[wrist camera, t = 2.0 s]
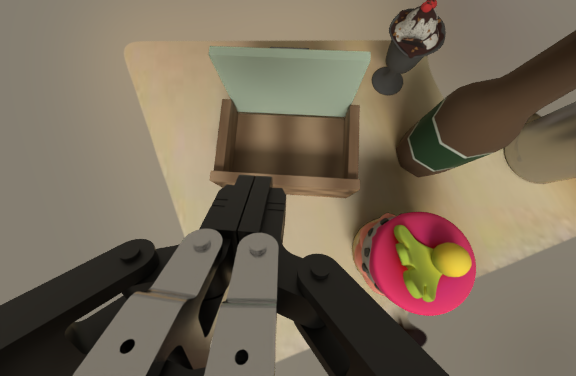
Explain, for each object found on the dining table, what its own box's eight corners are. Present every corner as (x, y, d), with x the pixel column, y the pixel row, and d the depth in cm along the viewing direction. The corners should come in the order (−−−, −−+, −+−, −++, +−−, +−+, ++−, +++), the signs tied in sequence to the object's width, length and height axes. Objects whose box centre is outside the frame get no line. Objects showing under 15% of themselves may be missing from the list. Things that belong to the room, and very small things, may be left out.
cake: (396, 202, 36) (465, 184, 21) (438, 266, 35) (545, 295, 20) (336, 238, 36) (364, 244, 21) (375, 305, 34) (436, 364, 19)
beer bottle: (397, 125, 38) (563, -42, 15) (448, 135, 38) (705, -24, 14) (390, 173, 37) (558, 75, 13) (443, 183, 36) (714, 100, 13)
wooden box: (348, 127, 38) (361, 101, 30) (346, 198, 37) (359, 189, 29) (235, 121, 39) (220, 95, 31) (227, 190, 37) (209, 180, 29)
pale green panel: (345, 106, 36) (370, 44, 24) (345, 118, 36) (370, 61, 24) (239, 101, 37) (210, 38, 25) (237, 112, 37) (208, 54, 24)
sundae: (393, 56, 40) (450, -45, 25) (415, 89, 39) (488, 3, 24) (358, 73, 40) (395, -19, 25) (379, 107, 39) (431, 32, 24)
